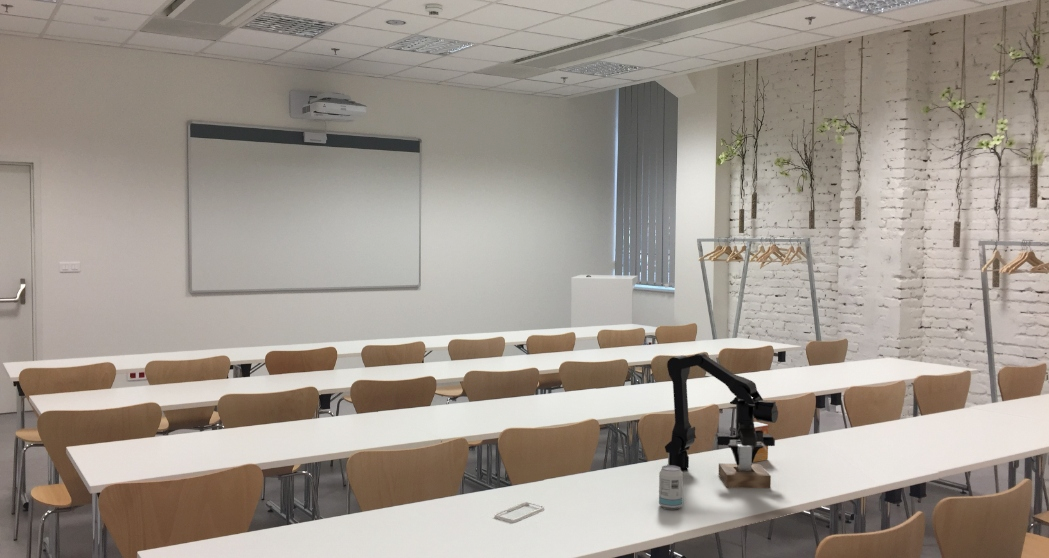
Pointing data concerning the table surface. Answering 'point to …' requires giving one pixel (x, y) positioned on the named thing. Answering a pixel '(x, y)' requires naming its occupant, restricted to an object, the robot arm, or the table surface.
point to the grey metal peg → (744, 458)
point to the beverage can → (670, 487)
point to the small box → (762, 452)
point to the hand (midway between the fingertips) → (743, 465)
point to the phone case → (520, 516)
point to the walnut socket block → (744, 476)
